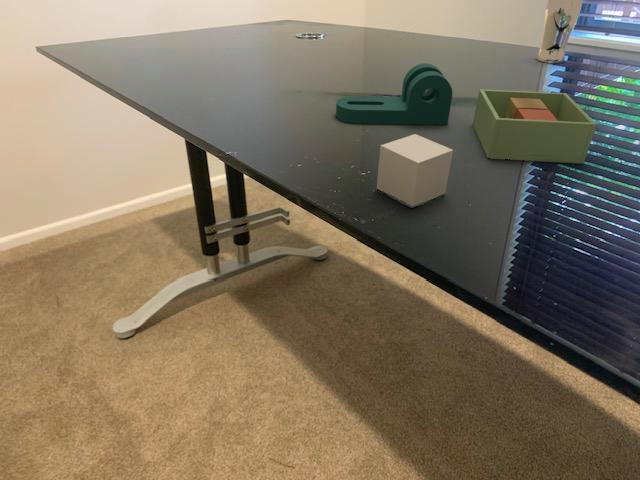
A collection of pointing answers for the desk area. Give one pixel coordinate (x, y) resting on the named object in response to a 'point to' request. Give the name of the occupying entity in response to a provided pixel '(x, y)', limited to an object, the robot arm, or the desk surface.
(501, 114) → the basket
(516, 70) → the desk surface
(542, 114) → the terracotta block
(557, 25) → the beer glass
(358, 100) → the bracket
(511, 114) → the maple block
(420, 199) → the white cube
